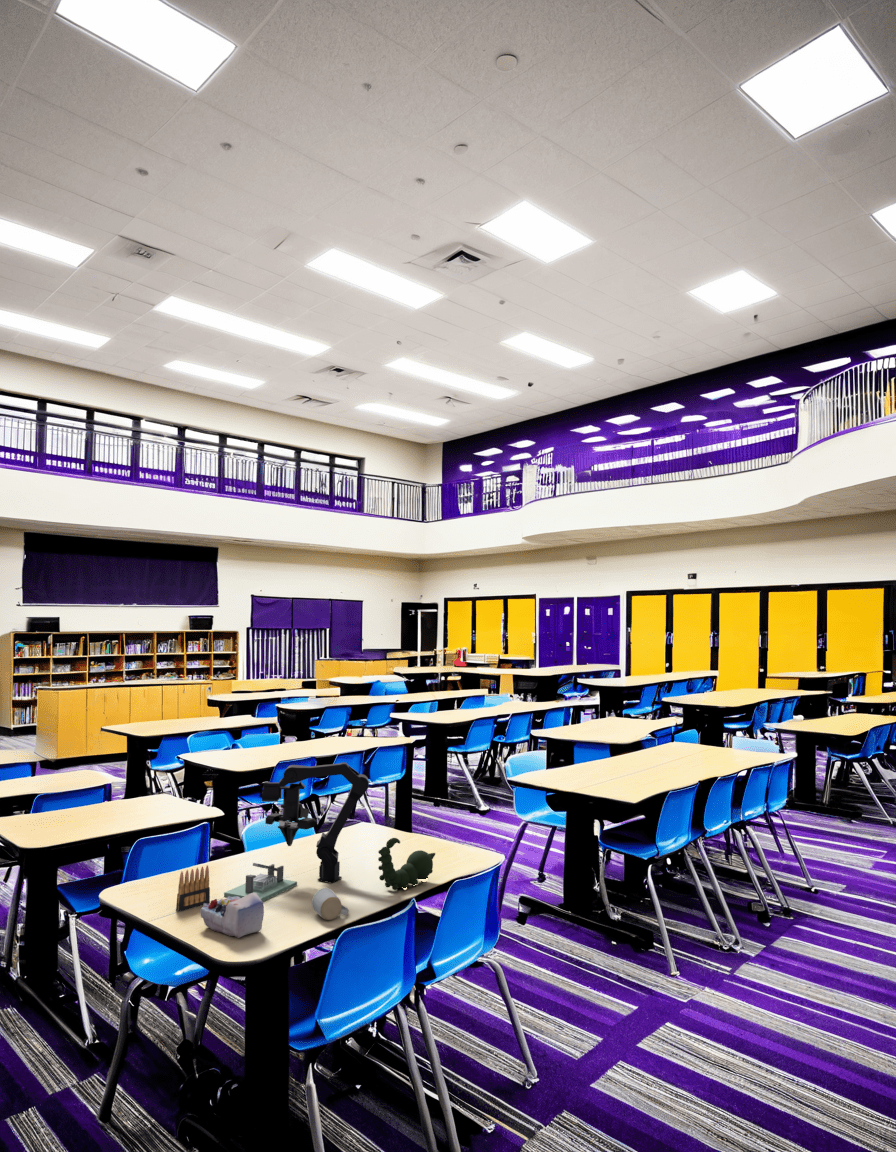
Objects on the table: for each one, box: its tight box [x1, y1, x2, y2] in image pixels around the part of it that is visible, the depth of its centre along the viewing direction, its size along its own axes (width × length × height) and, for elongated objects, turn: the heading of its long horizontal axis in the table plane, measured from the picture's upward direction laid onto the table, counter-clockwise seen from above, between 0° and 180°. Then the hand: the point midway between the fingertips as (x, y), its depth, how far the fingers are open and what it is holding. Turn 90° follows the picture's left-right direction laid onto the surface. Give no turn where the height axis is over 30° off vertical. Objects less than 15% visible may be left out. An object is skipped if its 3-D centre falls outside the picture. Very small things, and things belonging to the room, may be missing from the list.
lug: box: [245, 874, 257, 893], centre depth 240 cm, size 2×2×5 cm
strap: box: [252, 862, 277, 872], centre depth 247 cm, size 12×3×1 cm, turn 155°
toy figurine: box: [377, 837, 436, 891], centre depth 251 cm, size 9×19×25 cm
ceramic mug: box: [311, 887, 350, 921], centre depth 222 cm, size 11×8×8 cm
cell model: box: [199, 893, 265, 939], centre depth 211 cm, size 13×11×20 cm
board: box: [223, 878, 298, 903], centre depth 245 cm, size 15×20×1 cm
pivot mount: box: [267, 863, 284, 883], centre depth 252 cm, size 5×3×5 cm, turn 66°
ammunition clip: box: [175, 864, 211, 912], centre depth 229 cm, size 11×2×12 cm, turn 138°
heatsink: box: [253, 873, 277, 892], centre depth 245 cm, size 7×8×3 cm
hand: (289, 845), depth 256 cm, fingers closed
